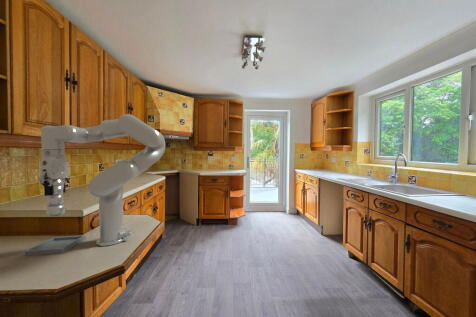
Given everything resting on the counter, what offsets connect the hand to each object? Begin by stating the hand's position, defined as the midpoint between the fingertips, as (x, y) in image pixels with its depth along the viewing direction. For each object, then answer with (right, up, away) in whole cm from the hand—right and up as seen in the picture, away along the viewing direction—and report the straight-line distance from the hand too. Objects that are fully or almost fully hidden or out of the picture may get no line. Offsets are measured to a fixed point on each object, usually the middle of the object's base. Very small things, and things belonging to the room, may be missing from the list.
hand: (55, 193), depth 91 cm
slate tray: (+1, -24, 0) cm, 24 cm away
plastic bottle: (0, -10, 0) cm, 10 cm away
